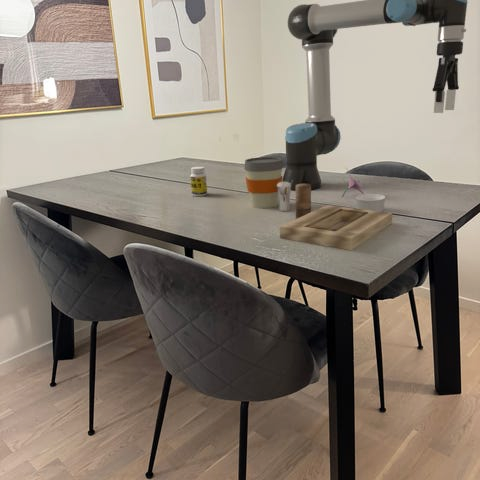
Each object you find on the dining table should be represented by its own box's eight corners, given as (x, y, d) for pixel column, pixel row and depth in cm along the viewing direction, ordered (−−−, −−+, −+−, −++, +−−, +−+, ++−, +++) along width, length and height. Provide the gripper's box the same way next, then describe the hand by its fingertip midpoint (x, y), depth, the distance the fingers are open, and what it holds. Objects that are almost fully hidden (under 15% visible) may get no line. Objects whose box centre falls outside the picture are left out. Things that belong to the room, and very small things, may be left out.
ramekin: (370, 215, 141) (371, 201, 140) (348, 210, 149) (349, 196, 147) (391, 210, 146) (391, 196, 144) (369, 205, 153) (369, 192, 152)
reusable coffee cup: (255, 199, 168) (253, 156, 163) (288, 201, 162) (288, 157, 158) (239, 208, 157) (237, 162, 153) (275, 210, 152) (274, 163, 147)
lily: (357, 205, 158) (372, 179, 156) (326, 189, 162) (340, 163, 160) (364, 208, 169) (377, 183, 167) (335, 192, 173) (348, 169, 171)
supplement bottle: (189, 196, 178) (186, 168, 175) (196, 192, 183) (194, 166, 180) (203, 196, 176) (201, 169, 173) (209, 193, 181) (208, 166, 178)
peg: (292, 219, 141) (292, 186, 138) (300, 215, 144) (300, 183, 141) (306, 221, 138) (306, 187, 135) (313, 217, 142) (313, 184, 139)
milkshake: (289, 212, 148) (289, 180, 145) (274, 211, 151) (273, 179, 148) (296, 209, 152) (295, 178, 149) (281, 207, 155) (280, 177, 152)
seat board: (279, 237, 125) (279, 225, 124) (326, 214, 144) (326, 204, 143) (351, 250, 113) (351, 237, 112) (391, 223, 132) (392, 212, 131)
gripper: (452, 38, 139) (446, 114, 145) (472, 42, 158) (465, 108, 164) (426, 40, 143) (420, 114, 150) (448, 44, 162) (442, 109, 169)
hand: (444, 111), depth 157 cm, fingers open, 13 cm apart
